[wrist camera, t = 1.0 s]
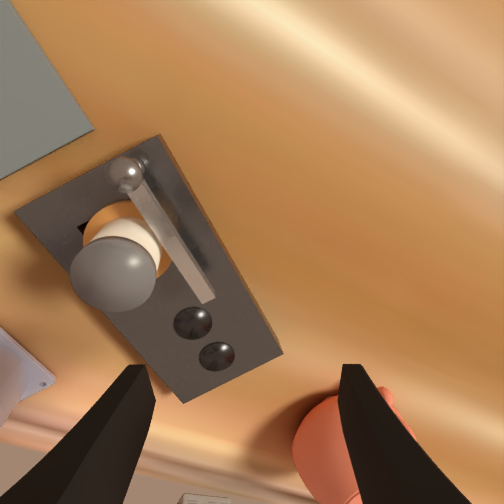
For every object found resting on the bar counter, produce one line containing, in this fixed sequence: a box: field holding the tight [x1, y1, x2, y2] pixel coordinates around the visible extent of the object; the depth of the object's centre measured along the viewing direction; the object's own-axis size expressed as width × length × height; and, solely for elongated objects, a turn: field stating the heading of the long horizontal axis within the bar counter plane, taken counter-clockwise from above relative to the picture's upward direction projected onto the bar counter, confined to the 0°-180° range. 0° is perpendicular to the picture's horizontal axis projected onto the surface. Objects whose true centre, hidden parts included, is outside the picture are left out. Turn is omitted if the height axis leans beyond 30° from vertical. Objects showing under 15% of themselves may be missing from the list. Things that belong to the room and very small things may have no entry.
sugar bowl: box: [292, 387, 417, 504], centre depth 30 cm, size 12×14×10 cm
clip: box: [105, 157, 216, 304], centre depth 19 cm, size 2×10×3 cm, turn 26°
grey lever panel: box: [14, 134, 283, 404], centre depth 24 cm, size 10×20×2 cm, turn 26°
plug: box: [70, 200, 172, 312], centre depth 19 cm, size 6×6×8 cm
